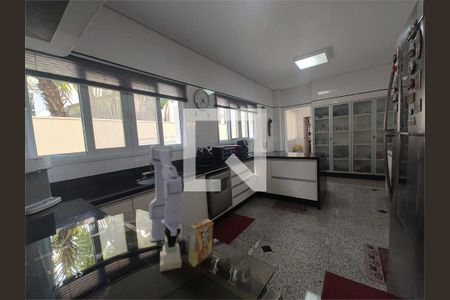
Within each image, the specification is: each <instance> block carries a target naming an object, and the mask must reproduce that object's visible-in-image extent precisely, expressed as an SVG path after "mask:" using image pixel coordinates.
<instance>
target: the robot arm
mask: <svg viewBox="0 0 450 300" xmlns="http://www.w3.org/2000/svg"><path fill="white" fill-rule="evenodd" d="M173 154H174V149H173V146H171V145H168V146H167V145H151V146H150V148H149V163H150V164H152V165H153V167H154V193H155V195H154V198H153V199H152V200H151V201H150V202H149V205H148V206H149V207H148V217H149V218H148V219H149V220H150V221H151V229H150V240H149V242H158V241H163V240H164V241H165V235H166V237H167V240H168V247H169V248H170V247H174V246H175V243H176V240H177V241H178V236H179V235H180V233H181V232H182V231H181V228H179V226H180V223H181V208H182V207H181V203H182V202H181V201H182V193H184V191H185V182H184V178H183V177H181V176H179V173H178V170H177V167H176V166H175V165H173V163H172V157H173Z"/></svg>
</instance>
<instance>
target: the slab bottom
mask: <svg viewBox="0 0 450 300" xmlns="http://www.w3.org/2000/svg"><path fill="white" fill-rule="evenodd" d="M159 252H160V253H159V270H160V272H165V271H170V270H174V269H179V268H182V255H181V254H180V260H177V261H172V262H166V263H163V250H162V251H159Z"/></svg>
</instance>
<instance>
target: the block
mask: <svg viewBox="0 0 450 300" xmlns="http://www.w3.org/2000/svg"><path fill="white" fill-rule="evenodd" d="M177 243H178V239H177V240H176V243H175V246H174V247H170V248H169V247H168V240H167V237H166V235H165V240H164V245H165V252H166V251H172V250H176V244H177Z"/></svg>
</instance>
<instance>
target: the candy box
mask: <svg viewBox="0 0 450 300" xmlns="http://www.w3.org/2000/svg"><path fill="white" fill-rule="evenodd" d="M213 231H214V222H213V221H212V220H210V219H209V218H206V219H204V220H201V221H199V222H196V223H193V224H191V225H190V232H189V242H188V243H189V245H188V247H189V248H188V263H189V264H190V265H191V266H192V267H193V268H194V267H196V265H197V264H198V263H199V262H200V261H201V260H203V259H204V258H205V257H206V256H207V255H208V254H209V253H210V252H211V253H212V248H213V247H212V244H213V233H214V232H213ZM198 265H199V264H198ZM198 265H197V266H198Z"/></svg>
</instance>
